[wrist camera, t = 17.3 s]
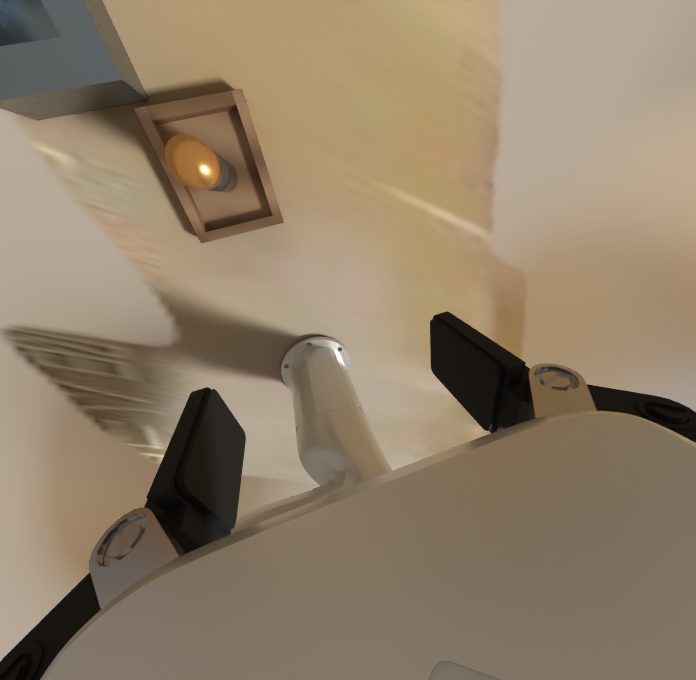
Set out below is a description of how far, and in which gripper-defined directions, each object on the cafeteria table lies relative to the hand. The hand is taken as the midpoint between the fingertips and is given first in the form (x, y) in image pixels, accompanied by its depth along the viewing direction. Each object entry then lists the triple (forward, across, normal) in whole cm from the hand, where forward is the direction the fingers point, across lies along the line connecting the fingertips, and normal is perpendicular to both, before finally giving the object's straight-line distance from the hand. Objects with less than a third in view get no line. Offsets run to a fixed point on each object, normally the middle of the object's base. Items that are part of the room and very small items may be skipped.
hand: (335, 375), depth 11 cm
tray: (+28, +5, -10) cm, 30 cm away
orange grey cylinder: (+28, +5, -10) cm, 30 cm away
